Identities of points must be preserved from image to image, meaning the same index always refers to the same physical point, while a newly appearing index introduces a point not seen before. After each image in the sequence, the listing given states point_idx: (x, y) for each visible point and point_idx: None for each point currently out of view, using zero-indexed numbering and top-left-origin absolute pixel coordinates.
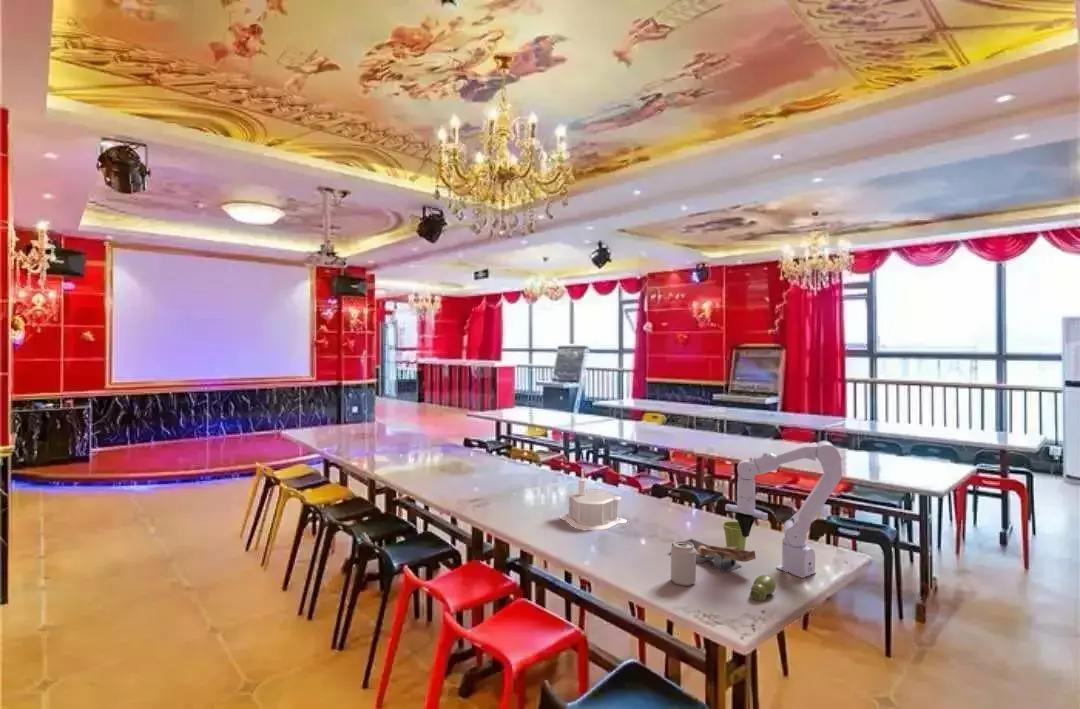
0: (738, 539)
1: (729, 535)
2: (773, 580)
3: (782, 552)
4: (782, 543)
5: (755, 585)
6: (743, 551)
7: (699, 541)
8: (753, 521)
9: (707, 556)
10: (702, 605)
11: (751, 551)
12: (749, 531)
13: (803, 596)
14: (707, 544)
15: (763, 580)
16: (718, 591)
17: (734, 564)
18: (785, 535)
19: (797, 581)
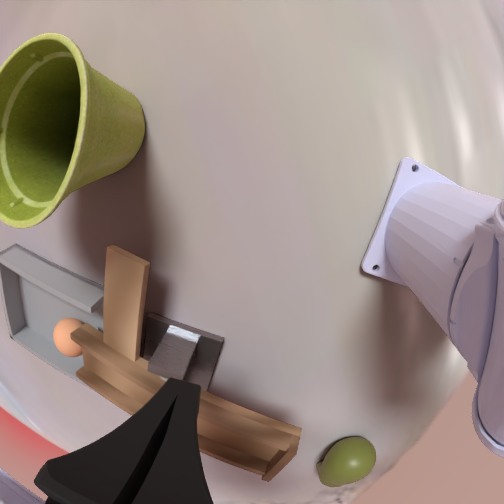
0: (96, 176)
1: (48, 196)
2: (372, 467)
3: (419, 293)
4: (444, 319)
5: (330, 486)
6: (238, 432)
7: (18, 271)
8: (209, 501)
9: (91, 322)
10: (250, 497)
11: (284, 460)
12: (195, 416)
13: (435, 403)
14: (45, 286)
15: (348, 483)
16: (248, 471)
17: (198, 349)
18: (480, 433)
19: (436, 333)
